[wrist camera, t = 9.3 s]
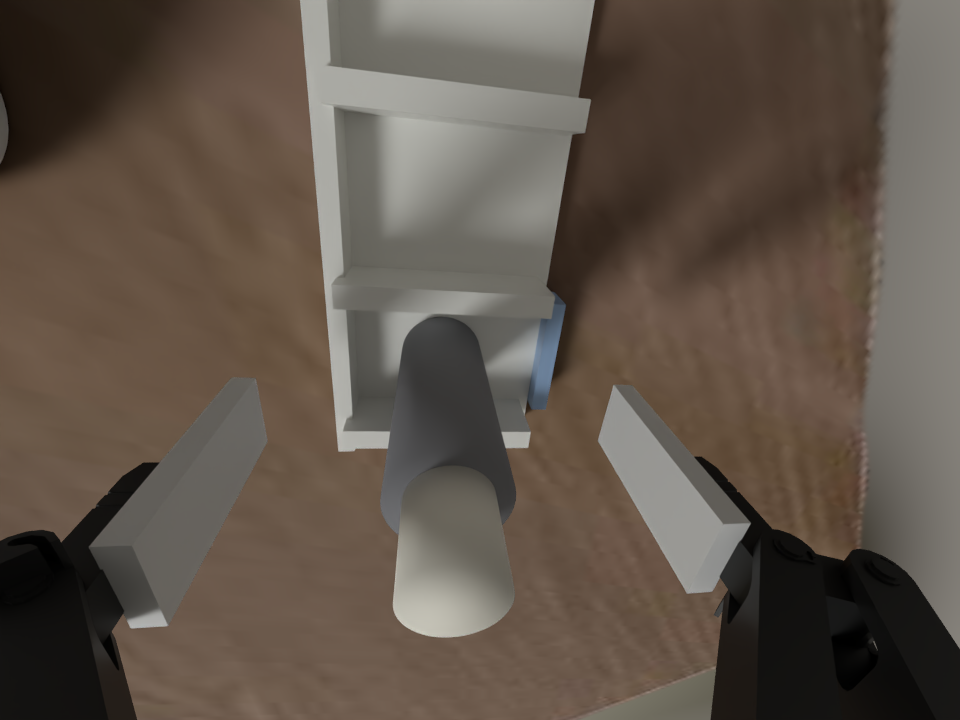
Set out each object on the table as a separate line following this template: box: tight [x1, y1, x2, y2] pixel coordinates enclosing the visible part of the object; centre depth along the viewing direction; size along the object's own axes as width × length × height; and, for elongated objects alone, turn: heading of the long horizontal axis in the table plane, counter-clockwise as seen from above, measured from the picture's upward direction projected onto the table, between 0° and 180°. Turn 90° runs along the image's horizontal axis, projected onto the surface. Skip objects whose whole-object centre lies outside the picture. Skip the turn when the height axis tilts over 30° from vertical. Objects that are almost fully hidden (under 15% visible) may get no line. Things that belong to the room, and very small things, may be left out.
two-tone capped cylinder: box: [380, 317, 516, 637], centre depth 15 cm, size 4×4×13 cm
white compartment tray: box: [300, 0, 595, 451], centre depth 17 cm, size 24×11×4 cm, turn 175°
